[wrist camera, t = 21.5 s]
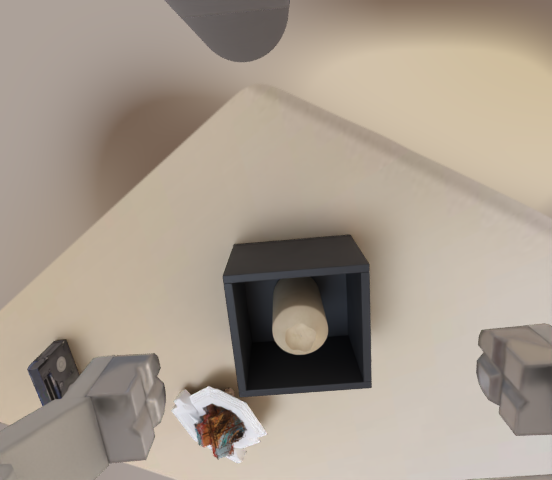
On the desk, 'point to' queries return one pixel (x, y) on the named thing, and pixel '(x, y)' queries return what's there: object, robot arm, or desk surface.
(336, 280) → the dark open square box
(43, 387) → the mini dv tape
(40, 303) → the desk surface
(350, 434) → the desk surface
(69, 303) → the desk surface
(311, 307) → the candle
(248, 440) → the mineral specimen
